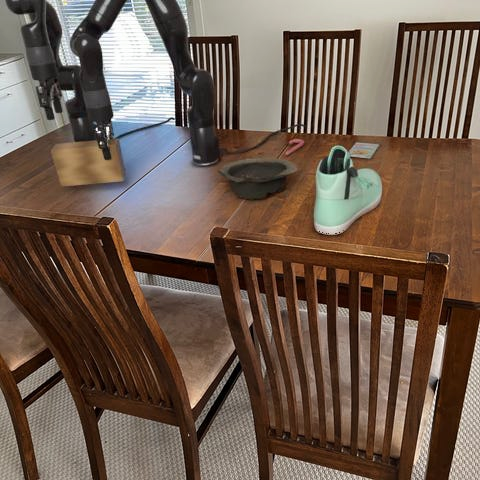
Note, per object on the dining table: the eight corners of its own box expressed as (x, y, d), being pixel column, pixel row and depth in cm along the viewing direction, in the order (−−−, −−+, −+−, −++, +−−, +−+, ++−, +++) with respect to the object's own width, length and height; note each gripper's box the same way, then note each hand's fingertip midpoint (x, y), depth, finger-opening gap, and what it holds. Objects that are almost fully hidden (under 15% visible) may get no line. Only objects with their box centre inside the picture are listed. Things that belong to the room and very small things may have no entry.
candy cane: (273, 154, 179) (273, 150, 178) (293, 141, 189) (293, 137, 188) (287, 156, 176) (287, 152, 175) (307, 143, 186) (307, 139, 185)
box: (61, 186, 155) (50, 150, 149) (66, 178, 161) (55, 143, 154) (123, 181, 156) (115, 144, 149) (126, 173, 161) (118, 138, 154)
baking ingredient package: (345, 155, 171) (356, 141, 183) (345, 156, 172) (356, 142, 183) (370, 157, 168) (379, 143, 179) (370, 158, 168) (379, 145, 180)
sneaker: (389, 187, 148) (396, 123, 138) (356, 242, 123) (361, 168, 112) (346, 181, 154) (350, 119, 144) (306, 232, 129) (307, 161, 118)
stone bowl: (243, 213, 140) (240, 183, 136) (209, 189, 160) (205, 162, 156) (313, 190, 149) (312, 161, 144) (272, 170, 169) (270, 144, 165)
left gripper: (46, 65, 136) (60, 121, 144) (61, 57, 149) (73, 109, 157) (20, 66, 136) (35, 123, 144) (37, 59, 149) (50, 111, 157)
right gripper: (106, 109, 139) (118, 163, 148) (114, 96, 151) (125, 146, 160) (80, 111, 139) (93, 165, 148) (90, 98, 151) (102, 148, 160)
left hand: (55, 116), depth 150 cm, fingers open, 8 cm apart
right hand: (110, 155), depth 154 cm, fingers closed on box, 6 cm apart
